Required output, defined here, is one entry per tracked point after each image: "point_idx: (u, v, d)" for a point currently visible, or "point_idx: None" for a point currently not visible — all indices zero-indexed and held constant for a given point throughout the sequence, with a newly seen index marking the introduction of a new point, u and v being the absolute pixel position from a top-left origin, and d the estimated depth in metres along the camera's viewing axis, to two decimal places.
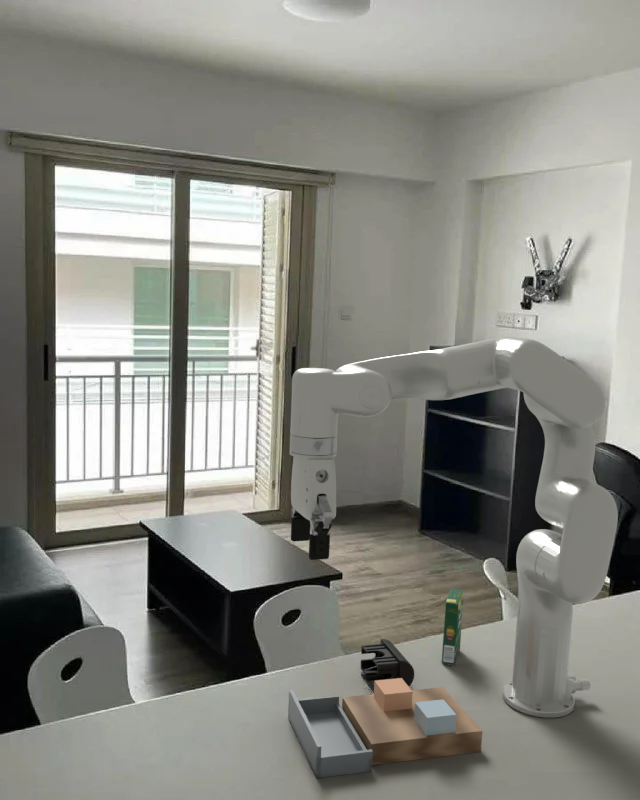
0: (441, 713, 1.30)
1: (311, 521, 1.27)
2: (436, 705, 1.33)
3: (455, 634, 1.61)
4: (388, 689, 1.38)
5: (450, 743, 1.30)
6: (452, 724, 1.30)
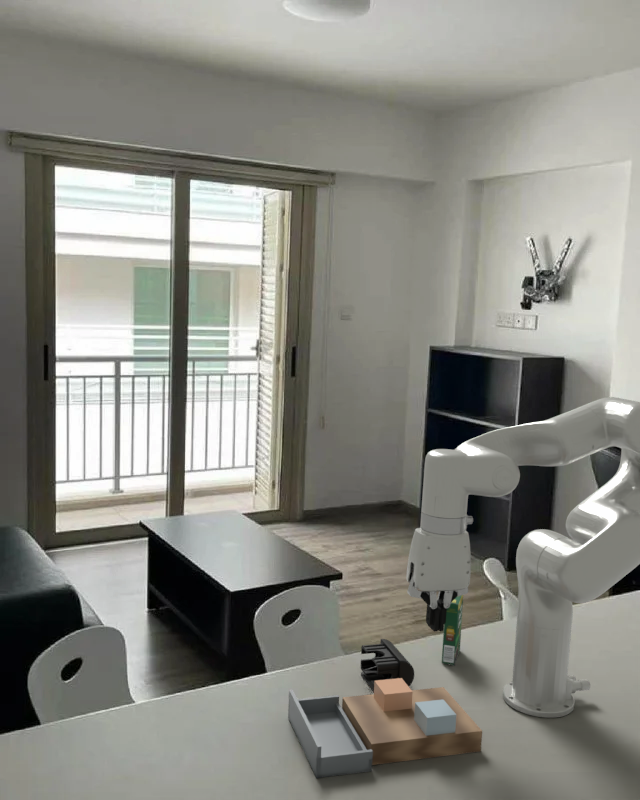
0: (441, 713, 1.30)
1: (449, 595, 1.38)
2: (436, 705, 1.33)
3: (455, 634, 1.61)
4: (388, 689, 1.38)
5: (450, 743, 1.30)
6: (452, 724, 1.30)
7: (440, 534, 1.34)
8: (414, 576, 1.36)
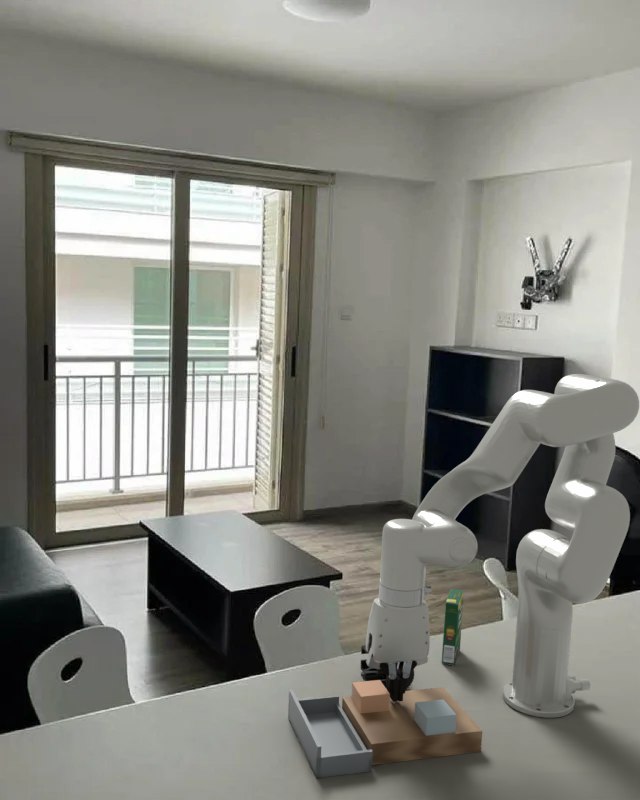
0: (441, 713, 1.30)
1: (408, 665, 1.38)
2: (436, 705, 1.33)
3: (455, 634, 1.61)
4: (365, 691, 1.37)
5: (450, 743, 1.30)
6: (452, 724, 1.30)
7: (397, 606, 1.33)
8: (372, 648, 1.35)
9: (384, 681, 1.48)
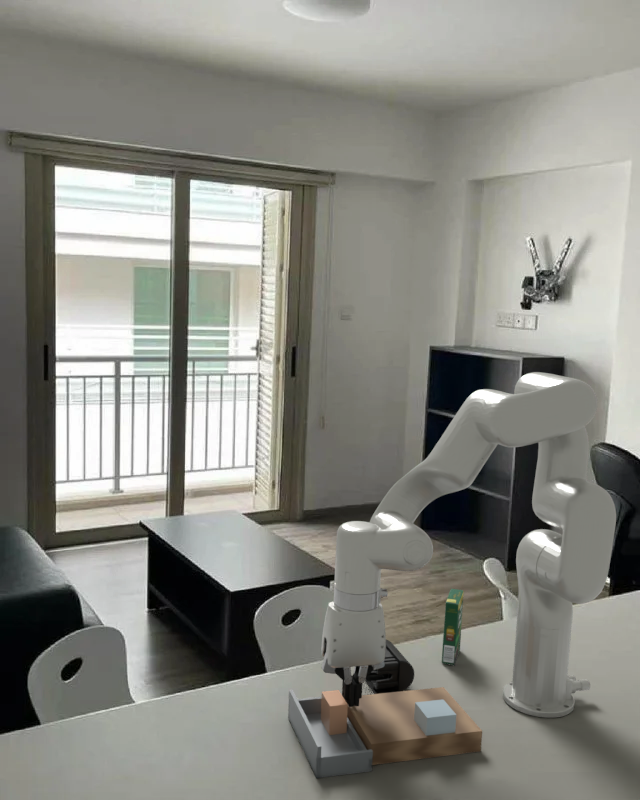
0: (441, 713, 1.30)
1: (364, 669, 1.35)
2: (436, 705, 1.33)
3: (455, 634, 1.61)
4: (326, 723, 1.35)
5: (450, 743, 1.30)
6: (452, 724, 1.30)
7: (351, 610, 1.31)
8: (327, 652, 1.33)
9: (384, 681, 1.48)
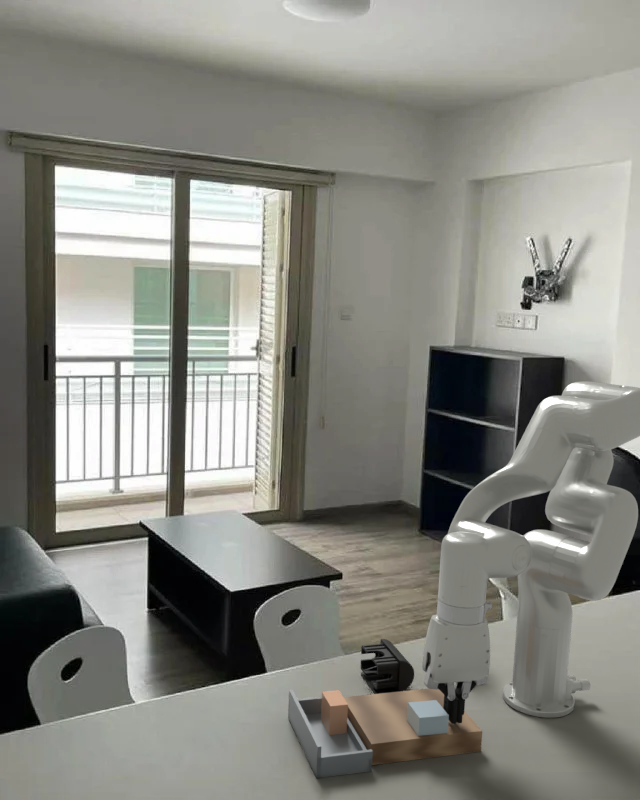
0: (433, 713, 1.30)
1: (468, 685, 1.31)
2: (429, 705, 1.32)
3: None
4: (326, 723, 1.35)
5: (450, 743, 1.30)
6: (444, 725, 1.30)
7: (458, 624, 1.27)
8: (431, 667, 1.29)
9: (384, 681, 1.48)
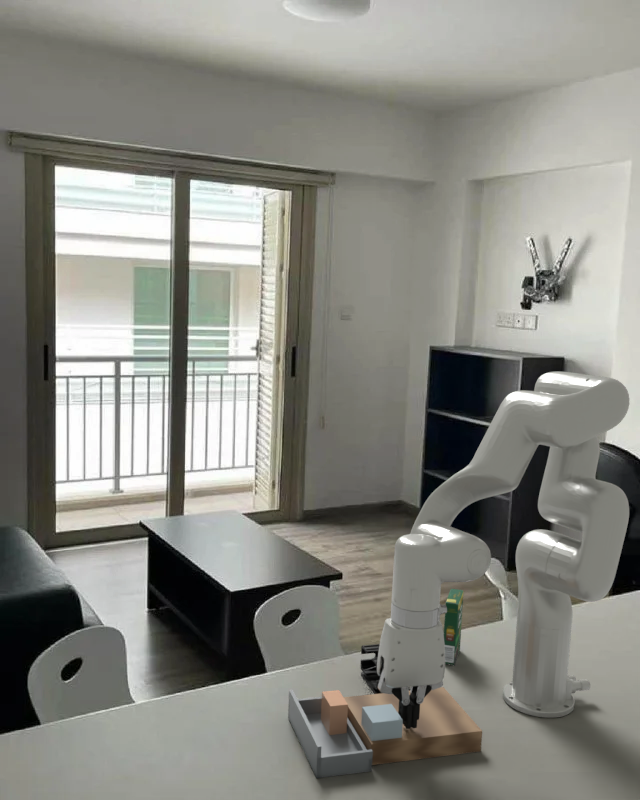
0: (387, 718, 1.28)
1: (423, 689, 1.29)
2: (383, 710, 1.31)
3: (455, 634, 1.61)
4: (326, 723, 1.35)
5: (450, 743, 1.30)
6: (398, 729, 1.28)
7: (411, 628, 1.25)
8: (384, 672, 1.27)
9: None
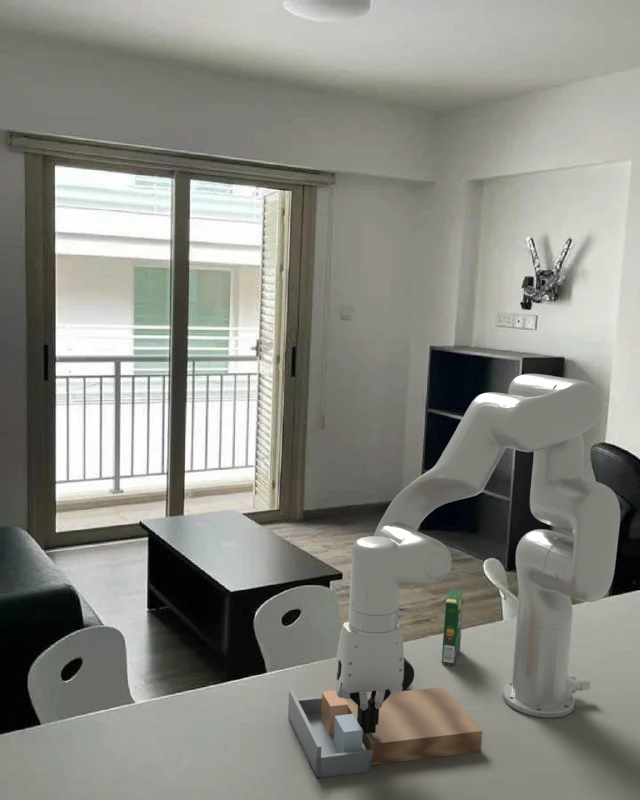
0: (342, 743, 1.26)
1: (381, 694, 1.27)
2: (337, 732, 1.29)
3: (455, 634, 1.61)
4: (326, 723, 1.35)
5: (450, 743, 1.30)
6: (353, 734, 1.26)
7: (368, 632, 1.23)
8: (341, 676, 1.25)
9: None
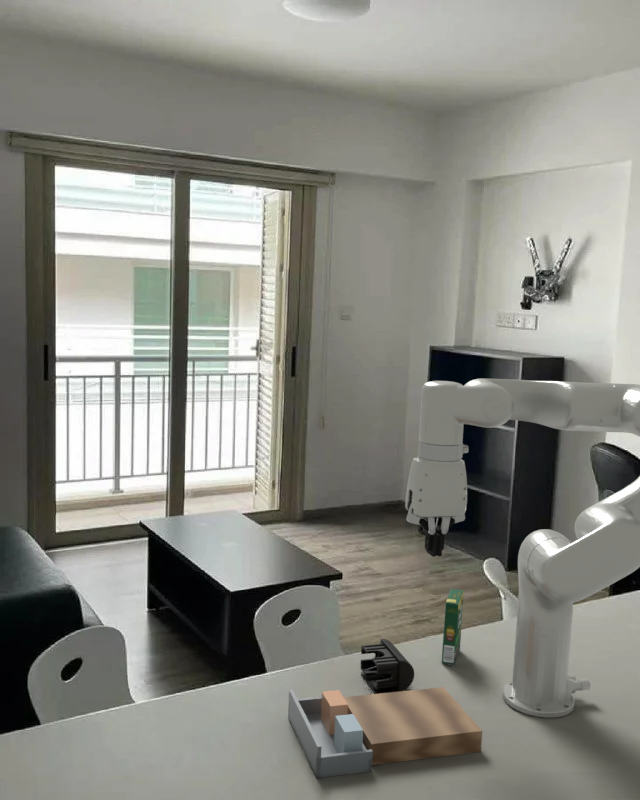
0: (342, 743, 1.26)
1: (447, 521, 1.43)
2: (337, 732, 1.29)
3: (455, 634, 1.61)
4: (326, 723, 1.35)
5: (450, 743, 1.30)
6: (354, 734, 1.26)
7: (437, 461, 1.39)
8: (412, 502, 1.41)
9: (384, 681, 1.48)
